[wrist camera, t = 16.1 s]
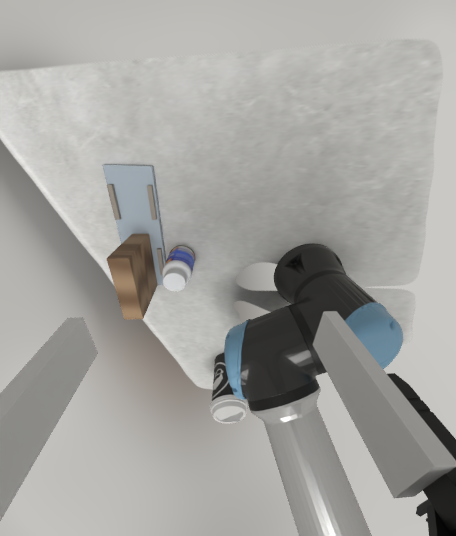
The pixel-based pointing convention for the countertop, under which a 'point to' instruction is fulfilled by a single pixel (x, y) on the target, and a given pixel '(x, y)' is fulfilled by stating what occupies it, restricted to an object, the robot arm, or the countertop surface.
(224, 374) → the coffee cup
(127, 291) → the frame
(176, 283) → the pill bottle
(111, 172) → the ledge
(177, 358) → the countertop surface
